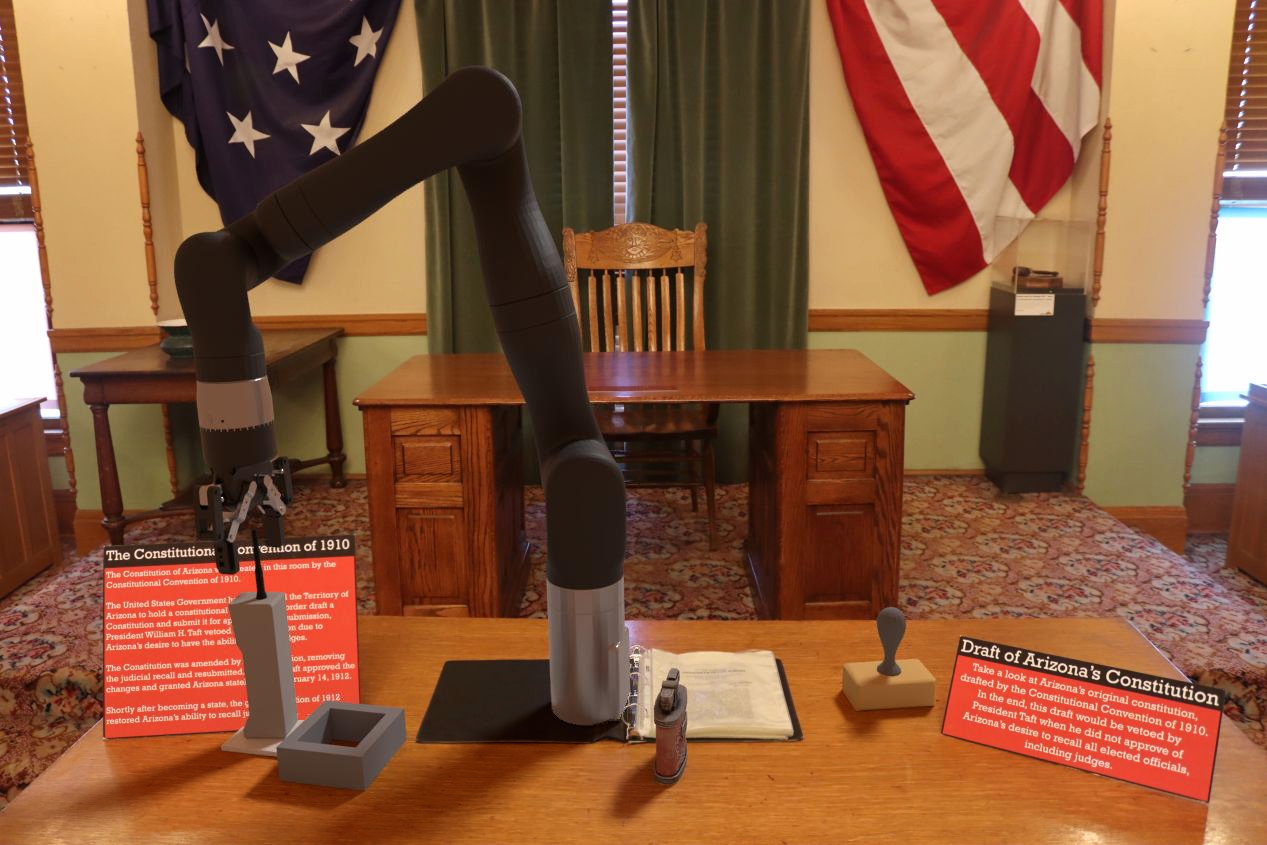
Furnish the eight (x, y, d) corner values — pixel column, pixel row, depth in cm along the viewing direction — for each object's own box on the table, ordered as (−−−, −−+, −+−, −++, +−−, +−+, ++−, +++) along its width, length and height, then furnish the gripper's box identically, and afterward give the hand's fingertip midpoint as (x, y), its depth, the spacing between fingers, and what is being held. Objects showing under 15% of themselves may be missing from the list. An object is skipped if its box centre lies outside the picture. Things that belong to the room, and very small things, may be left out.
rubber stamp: (916, 684, 118) (921, 596, 116) (935, 707, 113) (941, 615, 110) (841, 689, 117) (844, 600, 115) (856, 712, 112) (860, 620, 109)
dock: (406, 739, 107) (404, 708, 106) (364, 790, 98) (361, 757, 97) (328, 731, 109) (325, 700, 108) (279, 780, 100) (276, 747, 99)
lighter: (680, 786, 98) (680, 700, 95) (649, 783, 98) (648, 697, 96) (691, 744, 105) (691, 664, 103) (662, 741, 106) (661, 661, 104)
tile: (322, 720, 112) (321, 716, 112) (284, 757, 104) (283, 752, 104) (263, 714, 113) (262, 709, 113) (221, 750, 106) (221, 745, 106)
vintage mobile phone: (257, 722, 110) (234, 523, 105) (298, 722, 110) (277, 522, 105) (243, 739, 107) (219, 534, 101) (286, 739, 107) (264, 533, 101)
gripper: (226, 434, 93) (244, 586, 96) (304, 406, 106) (317, 539, 110) (161, 432, 94) (181, 581, 98) (246, 404, 108) (261, 536, 112)
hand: (253, 559), depth 104 cm, fingers open, 8 cm apart
